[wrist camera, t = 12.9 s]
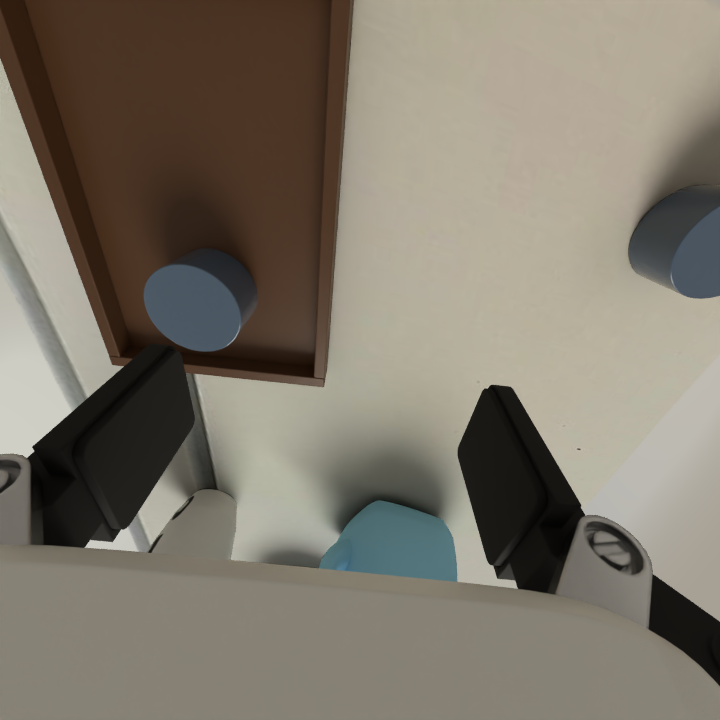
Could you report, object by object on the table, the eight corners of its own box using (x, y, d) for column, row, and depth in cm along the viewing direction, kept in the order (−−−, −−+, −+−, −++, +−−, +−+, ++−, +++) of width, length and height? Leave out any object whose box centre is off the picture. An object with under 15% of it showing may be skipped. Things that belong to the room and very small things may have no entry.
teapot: (328, 469, 33) (312, 600, 23) (472, 517, 37) (509, 645, 27) (288, 528, 39) (262, 651, 30) (416, 564, 43) (429, 682, 34)
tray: (-4, -77, 14) (-64, -113, 12) (355, -19, 15) (353, -45, 13) (131, 349, 26) (112, 365, 24) (327, 370, 26) (323, 387, 24)
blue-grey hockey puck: (693, 164, 18) (756, 166, 15) (751, 216, 19) (820, 227, 16) (608, 253, 21) (647, 269, 18) (664, 293, 22) (709, 314, 19)
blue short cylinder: (183, 231, 20) (151, 244, 17) (269, 274, 21) (253, 294, 18) (166, 305, 23) (136, 327, 20) (243, 339, 24) (226, 365, 21)
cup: (179, 472, 34) (116, 578, 25) (256, 490, 35) (220, 596, 27) (176, 514, 38) (121, 617, 30) (245, 528, 39) (211, 630, 31)
